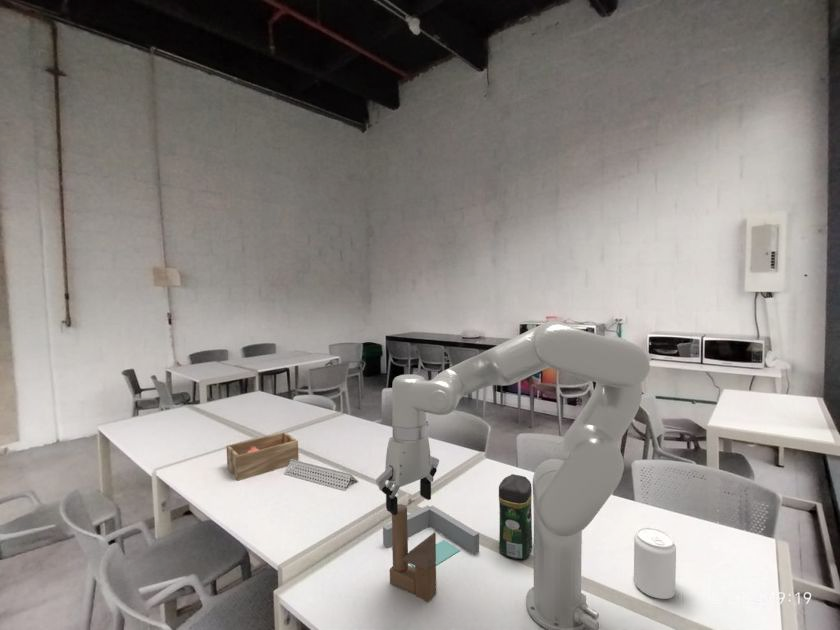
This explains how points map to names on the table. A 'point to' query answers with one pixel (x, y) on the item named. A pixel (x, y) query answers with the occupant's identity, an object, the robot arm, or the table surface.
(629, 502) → the table surface
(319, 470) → the corner bead
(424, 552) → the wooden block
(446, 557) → the pad
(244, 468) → the box
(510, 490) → the coffee jar
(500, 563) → the table surface
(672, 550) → the beverage can
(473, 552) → the corner wall
